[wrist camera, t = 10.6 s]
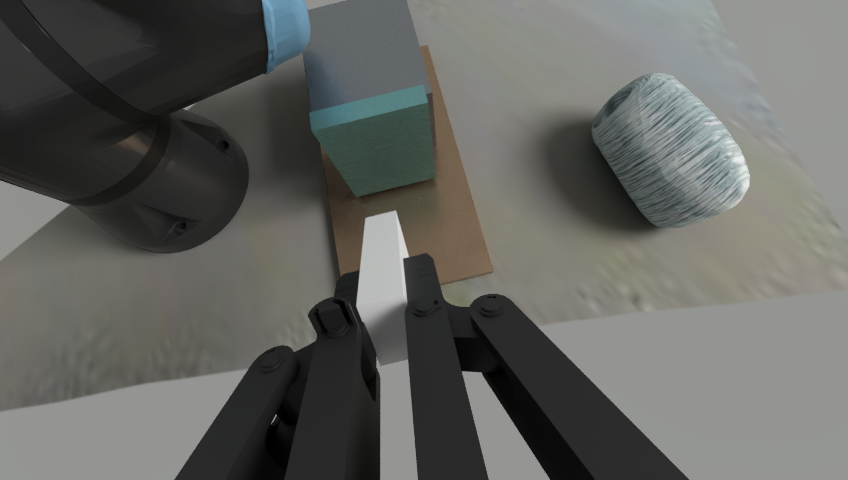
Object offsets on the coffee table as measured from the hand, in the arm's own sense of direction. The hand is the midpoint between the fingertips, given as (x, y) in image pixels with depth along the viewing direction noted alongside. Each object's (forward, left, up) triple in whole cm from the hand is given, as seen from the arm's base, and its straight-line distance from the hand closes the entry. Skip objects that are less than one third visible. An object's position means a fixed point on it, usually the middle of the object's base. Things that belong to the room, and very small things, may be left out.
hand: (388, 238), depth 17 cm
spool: (+18, +17, -17) cm, 30 cm away
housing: (-7, +11, -16) cm, 21 cm away
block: (-9, +15, -14) cm, 22 cm away
